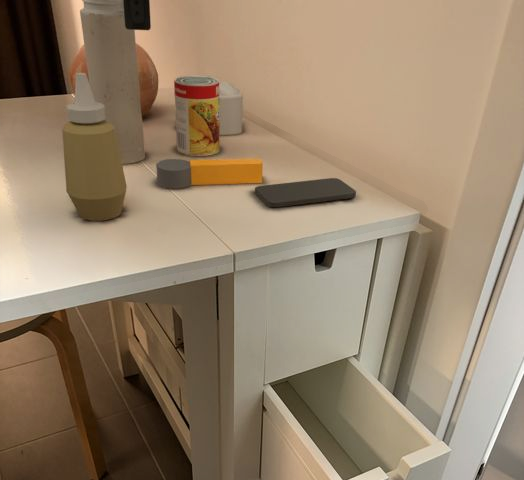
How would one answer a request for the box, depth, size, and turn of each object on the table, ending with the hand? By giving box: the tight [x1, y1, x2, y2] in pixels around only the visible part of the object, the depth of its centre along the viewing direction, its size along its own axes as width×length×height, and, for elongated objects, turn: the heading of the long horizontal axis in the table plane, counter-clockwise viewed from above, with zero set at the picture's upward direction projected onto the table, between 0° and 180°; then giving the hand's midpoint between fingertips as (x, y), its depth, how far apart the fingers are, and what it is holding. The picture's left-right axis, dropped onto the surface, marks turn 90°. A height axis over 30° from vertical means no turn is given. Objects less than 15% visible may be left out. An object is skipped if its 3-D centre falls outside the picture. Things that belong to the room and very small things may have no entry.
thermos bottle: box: [79, 0, 146, 165], centre depth 90 cm, size 8×8×28 cm
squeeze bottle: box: [61, 73, 128, 221], centre depth 73 cm, size 8×8×18 cm
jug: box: [68, 42, 159, 120], centre depth 115 cm, size 18×18×20 cm
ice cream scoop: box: [155, 158, 264, 190], centre depth 89 cm, size 17×6×3 cm, turn 102°
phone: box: [254, 177, 357, 208], centre depth 87 cm, size 7×1×15 cm
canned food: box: [173, 74, 221, 157], centre depth 100 cm, size 8×8×12 cm
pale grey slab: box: [219, 81, 244, 136], centre depth 113 cm, size 10×13×9 cm
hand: (137, 24), depth 75 cm, fingers open, 9 cm apart
